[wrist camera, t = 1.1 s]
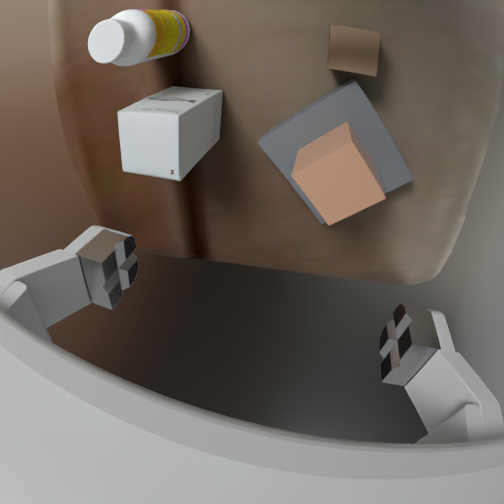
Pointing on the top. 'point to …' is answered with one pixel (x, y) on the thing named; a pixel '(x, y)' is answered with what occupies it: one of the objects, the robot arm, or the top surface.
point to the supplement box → (169, 131)
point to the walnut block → (353, 50)
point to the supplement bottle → (138, 36)
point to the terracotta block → (338, 174)
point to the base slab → (326, 119)
